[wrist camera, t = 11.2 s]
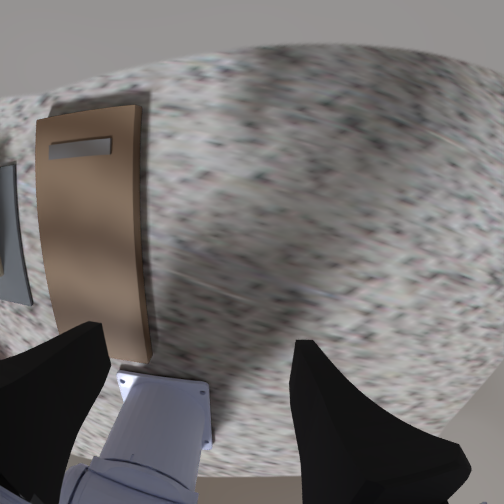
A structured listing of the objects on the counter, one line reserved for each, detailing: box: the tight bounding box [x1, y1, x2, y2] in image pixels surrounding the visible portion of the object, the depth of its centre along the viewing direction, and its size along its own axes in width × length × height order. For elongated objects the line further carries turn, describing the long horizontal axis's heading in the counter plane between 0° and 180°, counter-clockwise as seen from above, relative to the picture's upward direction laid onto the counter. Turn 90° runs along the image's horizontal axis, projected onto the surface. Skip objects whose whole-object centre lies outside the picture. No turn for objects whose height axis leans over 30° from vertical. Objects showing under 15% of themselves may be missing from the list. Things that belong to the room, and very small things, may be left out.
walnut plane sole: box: [35, 105, 152, 364], centre depth 19 cm, size 18×8×1 cm, turn 177°
